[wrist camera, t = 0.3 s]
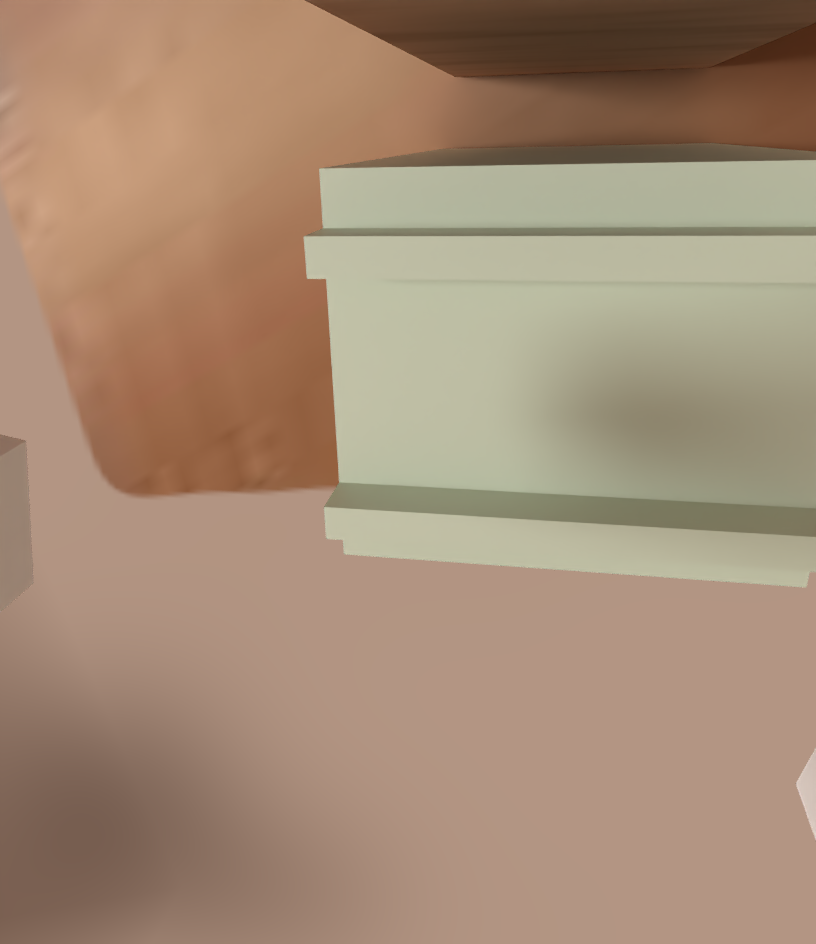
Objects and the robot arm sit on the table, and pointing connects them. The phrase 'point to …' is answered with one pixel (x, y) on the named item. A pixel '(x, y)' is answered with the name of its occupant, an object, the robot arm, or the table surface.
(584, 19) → the walnut stand
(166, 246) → the table surface
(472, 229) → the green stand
